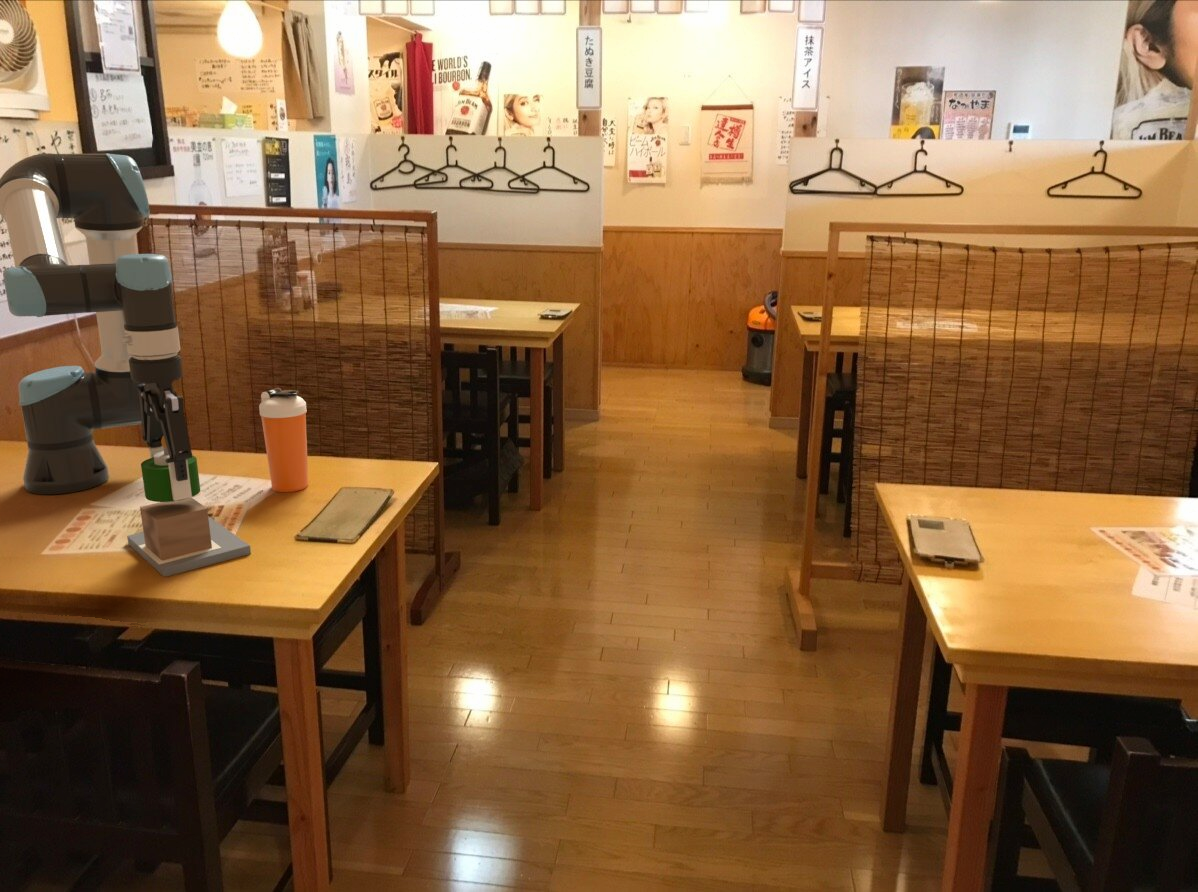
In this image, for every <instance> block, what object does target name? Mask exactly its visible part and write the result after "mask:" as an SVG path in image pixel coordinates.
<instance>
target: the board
mask: <svg viewBox="0 0 1198 892" xmlns="http://www.w3.org/2000/svg"><path fill="white" fill-rule="evenodd" d="M208 519H209V527H210V535H211V543H212V548H209V549H205V550H202V551H198V552H194V553H190V554H186V555H182V556H178V557H174V558H171V559H167V560H163V561H162V560H161V559H160V558H158V557H157V556H156V555H155V554H154V553H153V552H152V551H150V550H149V549H148V548H147V547H146V546H145V539H144V532H143V531H142V532H138V533H133V534H129V535H127V544H128V546H130V547H131V548H132V549H133V550H134V551H135V552H136V553H138V554H139V555H140V556H141V557H142V559H144V560H145V561H147V563H148V564H149V565H151V566H152V567H153V568H154V569H155V570H156V571H157V572H158V573H159V574H161V575H162V577H164V578H166V577H169V576H175V575H177V574H180V573H185V572H188V571H192V570H196V569H200V568H204V567H207V566H210V565H215V564H217V563H221V562H222V563H223V562H225V561H229V560H232V559H237V558H240V557H244V556H248V555H250V554H252V553H251V545H250V544H248V543H247V542H246V541H244V540H243V539H242V538H240V537H238V536H237V535H236V534H234V532H232V531H230V530H229V529H227V528H226V527H225V526H223V525H222V524H220V522H218V521H216V520H215V519H214V518H212V517H211V516H208Z"/></svg>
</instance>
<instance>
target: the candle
mask: <svg viewBox="0 0 1198 892" xmlns="http://www.w3.org/2000/svg"><path fill="white" fill-rule="evenodd" d="M161 443H162V446H163V448H164V451H161V452H158V453H155V454H154V457H153V458H150V457H149V458H147V459H146V460H144V461H142V462H141V463H140V468H141V476H142V483H143V490H144V496H145V499H146V500H148V501H151V502H153V503H160V502H172V501H174V500H173V496H172V488H171V481H170V473H169V466H168V463H166V461H165V460H166V459H169V458H170V457H169V453H168V449H167V445H166V442H165V438H164V436H163V437H162V440H161ZM181 452H182V451H181ZM187 462H188V470H189V477H190V485H191V493H192V498H193V497H195V496H197V495H199V494H200V493H201V485H200V476H199V467H198V466H199V465H198V459H197V457H196V456H194V455H193V454H192V458H188V459H187ZM186 499H187V498H186ZM181 500H184V499H181ZM177 501H179V500H177Z"/></svg>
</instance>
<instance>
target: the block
mask: <svg viewBox="0 0 1198 892" xmlns="http://www.w3.org/2000/svg"><path fill="white" fill-rule="evenodd" d="M139 510H140V518H141V522H142V530H143V531H142V532H144V539H145V546H146V547H147V548H148V549H149V550H150V551H152V552H153V553H154V554H155V555H156V556H157V557H158V558H160V559H161V560H162V561H163V560H167V559H171V558H174V557H178V556H182V555H186V554H190V553H194V552H198V551H202V550H205V549H209V548H212V543H211V535H210V527H209V519H208V517H209V512H208V508H207V507H206V506H205V505H203V504H202V503H200V502H198V501H197V500H196V499H195V498H193V497H190V498H187V499H184V500H179V501H172V502H154V503H152V504H147V505H142V506H139Z"/></svg>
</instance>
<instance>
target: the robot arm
mask: <svg viewBox="0 0 1198 892" xmlns="http://www.w3.org/2000/svg"><path fill="white" fill-rule="evenodd" d="M149 204H150V203H149V199H148V195H147V191H146V187H145V184H144V180H143V177H142V174H141V171H140V168H139V167H138V164H137V162H136V161H135V160H134V159H133V157H131V156H129V155H124V154H114V153H105V152H104V153H46V152H45V153H38V154H33V155H30V156H27V157H24V158H23V159H21V160H18V161H16V163H14V164H13V165H12V166H10V167H9V168H8V169H7V170H6V171H5V172H4V173H3V174H2V175H1V176H0V216H1V218H2V219H3V220H4V221H5V222H6V227H7V231H8V232H7V233H8V238H9V243H10V246H11V252H12V257H13V262H14V267H10V268H6V269H5V270H3V273H2V277H3V283H4V287H5V294H6V301H7V305H8V310H9V312H10V314H11V315H12V316H14V317H37V318H43V317H46V316H47V317H49V316H60V315H72V314H84V313H85V314H86V313H87V314H88V313H95V314H96V322H97V328H98V335H99V343H100V350H101V355H100V356H99V357H98V358H97V359H96V360H95V362H94V370H95V371H91V372H90V371H89V372H85V370H84V369H83V368H82V366H81V365H65V366H64V365H63V366H58V367H57V366H56V367H52V368H47V369H43V370H39V371H35V372H34V373H31V374H28V375H26V376H24V377H23V378H22V379H20V381H19V382H18V395H19V396H18V397H19V400H18V405H19V406H21V407H20V408H21V412H22V419H23V425H24V431H25V436H26V437H25V438H26V442H27V443H26V444H27V450H28V452H27V457H26V458H27V459H26V463H25V467H24V473H23V476H22V477H23V478H22V479H23V485H24V489H26V490H27V492H29V493H30V494H31V493H32V494H37V495H60V494H68V493H69V494H70V493H74V492H75V493H76V492H82V491H85V490H89V489H91V488H92V489H93V488H95V487H98V486H101V485H102V484H104V483H105V482H107V481H108V480H109V478H110V475H109V468H108V465H107V463H106V461H105V460H104V458H103V456H102V454H101V452H100V451H99V449H98V447H97V445H96V444H95V440H94V434H93V431H94V430H103V429H108V428H118V427H126V426H136V425H141V431H142V433H141V434H142V440H143V441H144V442H146V445H147V447H148V453H149V459H150V458H153V457H154V454H155V453H158V452H161V451H164V448H163V446H162V443H161V440H162V437H163V436H164V438H165V442H166V445H167V449H168V453H169V457H170V458H169V459H166V460H165V461H166V463H168V466H169V473H170V481H171V488H172V496H173V500H174V501H177V500H181V499H186V498H190V497H192V493H191V485H190V477H189V470H188V462H187V459H188V458H192V455H193V452H192V448H191V447H192V446H191V443H190V436H189V433H188V432H189V431H188V426H187V421H186V416H185V415H186V414H185V411H184V409H185V408H184V407H185V406H184V397H183V396H182V395H179V396H178V394H177V392H176V390H174V386H173V383H174V382H175V381H178V380H180V379H182V377H183V376H184V370H183V360H182V356H181V355H180V354H178V353H179V352H180V351H181V342H180V333H179V327H178V326H179V325H178V324H177V323H178V322H177V316H176V308H175V301H174V300H175V297H174V290H173V274H172V273H171V268H170V263H169V259H168V258H167V256H165V255H163V254H159V253H158V254H156V253H138V248H137V242H136V235H137V234H138V232H140V231H141V229H143V219H145V218H147V217H149V216H150V215H151V212H150V211H151V210H150V205H149ZM142 218H143V219H142ZM57 219H73V220H74V228H75V229H76V230H77V231H78V232H79V233H81V234H82V235H84V237H85V243H86V248H87V257H88V263H89V264H74V265H73V264H72V265H71V264H70V265H69V261H68V257H67V252H66V250H65V246H64V242H63V238H62V234H61V230H60V228H59V223H58V220H57ZM181 451H182V452H181ZM26 490H25V491H26ZM192 498H193V497H192Z"/></svg>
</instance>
